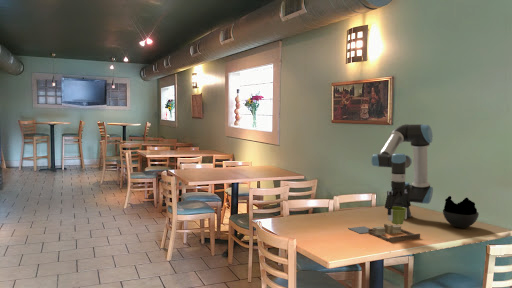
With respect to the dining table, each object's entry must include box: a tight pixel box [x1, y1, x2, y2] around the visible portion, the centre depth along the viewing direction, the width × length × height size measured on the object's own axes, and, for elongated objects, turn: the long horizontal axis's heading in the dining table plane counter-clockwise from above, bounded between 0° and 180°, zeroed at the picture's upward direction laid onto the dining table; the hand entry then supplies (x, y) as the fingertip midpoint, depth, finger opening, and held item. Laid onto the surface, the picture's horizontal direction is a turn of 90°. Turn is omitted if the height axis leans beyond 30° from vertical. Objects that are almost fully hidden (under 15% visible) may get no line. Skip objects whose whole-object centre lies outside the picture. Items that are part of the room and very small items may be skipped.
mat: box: [348, 225, 371, 235], centre depth 245 cm, size 12×12×1 cm
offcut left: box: [372, 225, 386, 236], centre depth 238 cm, size 4×6×4 cm, turn 114°
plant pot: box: [391, 207, 406, 226], centre depth 232 cm, size 9×9×9 cm
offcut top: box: [383, 223, 394, 235], centre depth 240 cm, size 4×5×3 cm
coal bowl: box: [442, 195, 480, 229], centre depth 253 cm, size 20×20×19 cm
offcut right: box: [392, 224, 402, 235], centre depth 242 cm, size 4×6×4 cm, turn 110°
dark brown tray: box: [367, 228, 421, 243], centre depth 234 cm, size 19×21×2 cm
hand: (397, 219), depth 232 cm, fingers closed on plant pot, 9 cm apart
